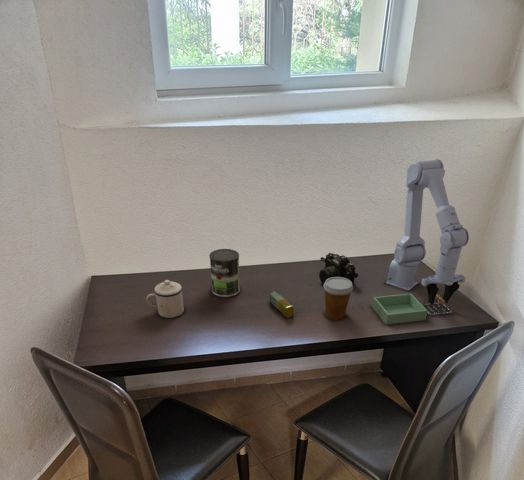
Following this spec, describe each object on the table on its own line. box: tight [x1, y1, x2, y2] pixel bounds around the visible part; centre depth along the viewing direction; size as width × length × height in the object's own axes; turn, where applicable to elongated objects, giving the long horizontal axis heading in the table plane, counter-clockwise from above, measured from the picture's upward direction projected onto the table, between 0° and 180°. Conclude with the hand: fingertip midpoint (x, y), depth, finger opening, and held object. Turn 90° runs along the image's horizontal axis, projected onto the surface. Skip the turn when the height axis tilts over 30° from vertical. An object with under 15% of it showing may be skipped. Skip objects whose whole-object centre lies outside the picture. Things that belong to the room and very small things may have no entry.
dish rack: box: [421, 293, 454, 316], centre depth 157 cm, size 8×7×5 cm
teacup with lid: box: [146, 279, 185, 319], centre depth 153 cm, size 12×9×12 cm
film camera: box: [318, 252, 359, 287], centre depth 172 cm, size 18×12×10 cm
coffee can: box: [209, 248, 241, 298], centre depth 165 cm, size 10×10×14 cm
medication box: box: [269, 290, 295, 318], centre depth 157 cm, size 12×3×4 cm, turn 28°
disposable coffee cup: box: [322, 277, 354, 321], centre depth 152 cm, size 10×10×12 cm
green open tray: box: [371, 292, 428, 325], centre depth 155 cm, size 14×12×4 cm
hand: (437, 302), depth 156 cm, fingers open, 5 cm apart
